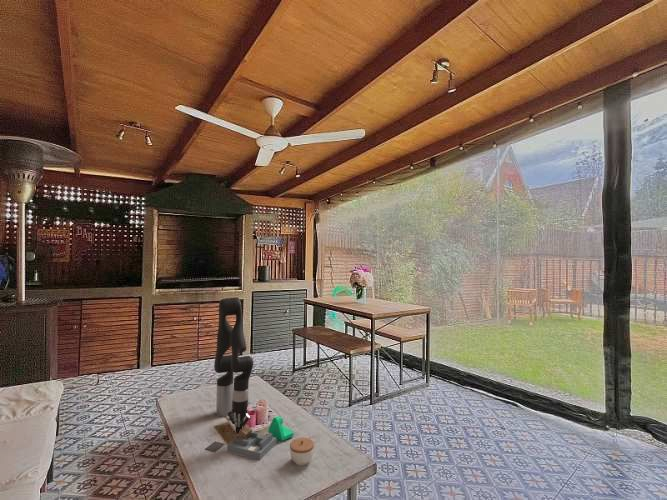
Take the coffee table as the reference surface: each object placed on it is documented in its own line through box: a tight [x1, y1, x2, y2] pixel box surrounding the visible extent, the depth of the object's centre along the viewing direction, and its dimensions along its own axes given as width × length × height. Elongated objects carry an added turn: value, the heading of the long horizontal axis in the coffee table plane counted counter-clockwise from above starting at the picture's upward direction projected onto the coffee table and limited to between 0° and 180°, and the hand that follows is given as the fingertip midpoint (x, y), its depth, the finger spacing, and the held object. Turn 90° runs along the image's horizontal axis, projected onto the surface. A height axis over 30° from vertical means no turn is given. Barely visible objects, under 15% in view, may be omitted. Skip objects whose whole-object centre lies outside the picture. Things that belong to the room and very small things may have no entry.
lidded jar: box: [289, 437, 315, 467], centre depth 148 cm, size 11×11×9 cm
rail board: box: [226, 430, 277, 460], centre depth 159 cm, size 14×18×6 cm
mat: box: [204, 441, 226, 453], centre depth 159 cm, size 7×6×1 cm
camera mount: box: [267, 415, 294, 442], centre depth 170 cm, size 12×8×10 cm, turn 45°
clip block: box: [236, 424, 253, 440], centre depth 160 cm, size 5×4×4 cm
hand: (238, 433), depth 161 cm, fingers closed
